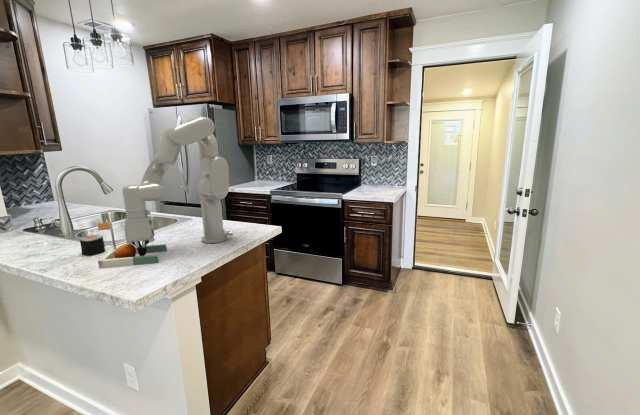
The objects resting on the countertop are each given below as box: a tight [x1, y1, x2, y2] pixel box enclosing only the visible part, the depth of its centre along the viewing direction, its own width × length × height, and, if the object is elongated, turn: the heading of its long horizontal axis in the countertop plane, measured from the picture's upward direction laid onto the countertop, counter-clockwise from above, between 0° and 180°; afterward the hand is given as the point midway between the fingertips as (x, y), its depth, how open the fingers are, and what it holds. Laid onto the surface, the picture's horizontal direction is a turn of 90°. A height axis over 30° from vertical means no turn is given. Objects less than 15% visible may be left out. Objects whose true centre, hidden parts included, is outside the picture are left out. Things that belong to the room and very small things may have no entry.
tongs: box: [97, 222, 168, 269], centre depth 128 cm, size 26×15×15 cm, turn 103°
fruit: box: [114, 243, 137, 259], centre depth 129 cm, size 8×8×8 cm
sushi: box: [79, 234, 106, 257], centre depth 137 cm, size 8×8×8 cm
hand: (143, 255), depth 131 cm, fingers closed
